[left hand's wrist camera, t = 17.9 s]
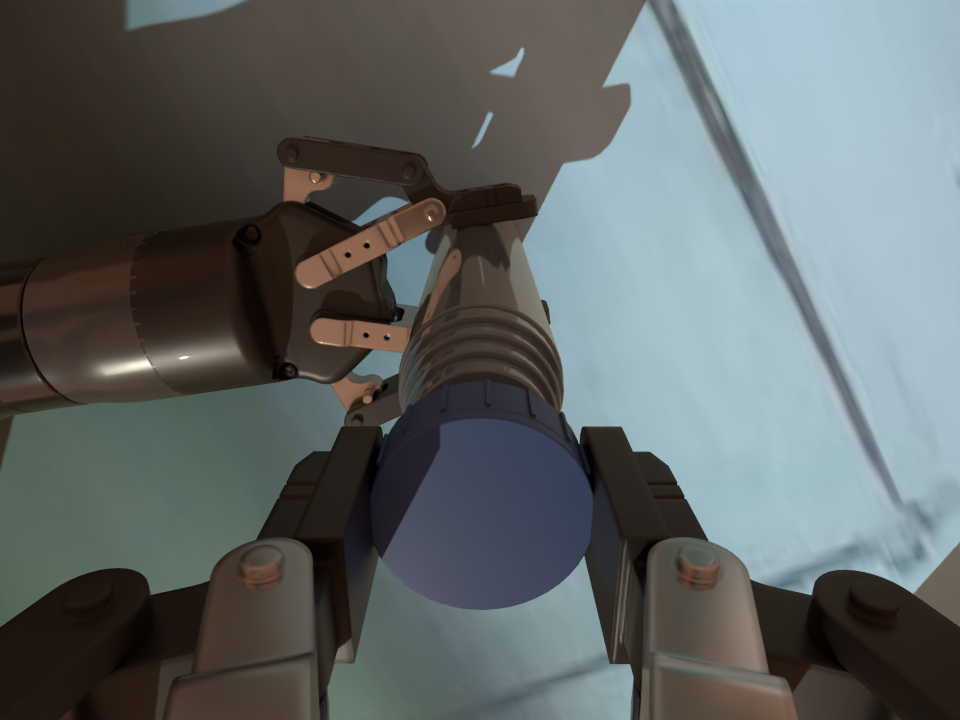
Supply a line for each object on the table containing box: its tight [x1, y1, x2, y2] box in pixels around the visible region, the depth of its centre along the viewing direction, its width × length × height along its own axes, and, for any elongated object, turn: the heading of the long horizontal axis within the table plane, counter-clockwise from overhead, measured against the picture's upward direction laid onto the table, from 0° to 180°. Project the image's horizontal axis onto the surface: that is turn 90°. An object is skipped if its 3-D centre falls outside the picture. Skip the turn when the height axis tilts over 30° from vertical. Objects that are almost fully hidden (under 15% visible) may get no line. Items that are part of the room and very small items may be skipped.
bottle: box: [398, 220, 564, 415], centre depth 23 cm, size 4×4×25 cm
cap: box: [370, 379, 594, 610], centre depth 12 cm, size 4×4×2 cm
